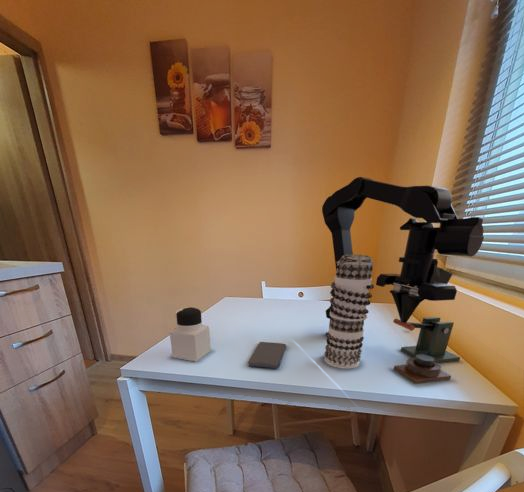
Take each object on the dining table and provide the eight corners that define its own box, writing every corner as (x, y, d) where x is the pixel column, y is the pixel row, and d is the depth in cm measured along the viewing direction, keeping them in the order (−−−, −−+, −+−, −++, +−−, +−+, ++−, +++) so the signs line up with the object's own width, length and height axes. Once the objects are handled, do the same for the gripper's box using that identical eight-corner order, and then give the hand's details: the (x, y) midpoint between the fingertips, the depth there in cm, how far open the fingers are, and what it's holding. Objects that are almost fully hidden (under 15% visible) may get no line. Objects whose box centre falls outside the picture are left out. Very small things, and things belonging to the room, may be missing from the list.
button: (422, 369, 60) (424, 361, 59) (410, 362, 63) (412, 355, 62) (436, 367, 60) (438, 360, 60) (423, 360, 64) (425, 353, 63)
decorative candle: (345, 351, 74) (359, 253, 65) (369, 366, 66) (389, 256, 57) (315, 356, 71) (325, 254, 62) (336, 372, 64) (351, 257, 54)
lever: (408, 333, 64) (412, 323, 63) (391, 325, 70) (394, 316, 69) (448, 335, 68) (452, 326, 67) (429, 328, 73) (433, 319, 72)
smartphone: (286, 343, 77) (278, 365, 64) (286, 346, 78) (278, 369, 64) (259, 341, 79) (246, 362, 65) (259, 344, 79) (246, 366, 65)
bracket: (425, 365, 67) (435, 327, 64) (400, 351, 75) (408, 316, 72) (459, 361, 70) (471, 324, 66) (431, 348, 78) (440, 314, 74)
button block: (414, 385, 59) (418, 372, 57) (393, 370, 65) (395, 358, 64) (449, 380, 61) (453, 368, 59) (425, 366, 67) (428, 355, 66)
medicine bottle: (211, 351, 74) (208, 307, 69) (196, 362, 67) (192, 314, 63) (188, 347, 76) (183, 304, 71) (172, 357, 70) (166, 311, 65)
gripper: (489, 256, 54) (465, 332, 60) (418, 250, 71) (405, 310, 77) (442, 256, 51) (422, 336, 57) (380, 250, 68) (369, 312, 74)
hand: (403, 321), depth 67 cm, fingers closed
